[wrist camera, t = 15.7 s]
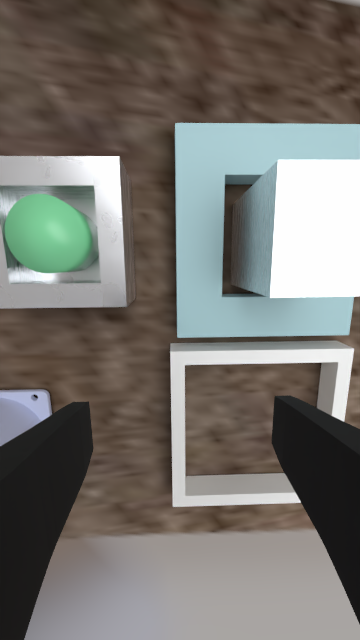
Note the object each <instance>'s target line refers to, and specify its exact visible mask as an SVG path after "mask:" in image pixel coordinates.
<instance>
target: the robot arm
mask: <svg viewBox="0 0 360 640" xmlns="http://www.w3.org/2000/svg"><path fill="white" fill-rule="evenodd" d="M34 395H37V396H38V398H35V397H34ZM272 445H273V447H274V450H275V452H276V455H277V457H278V460H279V462H280V465H281V467H282V469H283V471H284V473H285V475H286V476H287V478H288V480H289V482H290V484H291V485H292V487H293V489H294V491H295V493H296V494H297V496H298V498H299V500H300V501H301V503H302V505H303V507H304V509H305V510H306V512H307V514H308V516H309V517H310V519H311V521H312V523H313V525H314V526H315V528H316V530H317V532H318V534H319V536H320V537H321V539H322V541H323V543H324V545H325V547H326V549H327V552H328V554H329V556H330V558H331V560H332V562H333V565H334V567H335V569H336V571H337V574H338V576H339V578H340V580H341V582H342V585H343V587H344V589H345V591H346V594H347V596H348V598H349V601H350V603H351V605H352V607H353V610H354V612H355V615H356V616H357V619H358V621H359V624H360V429H358V428H356V427H354V426H352V425H350V424H347V423H345V422H343V421H341V420H339V419H337V418H335V417H333V416H331V415H329V414H327V413H325V412H324V411H322V410H320V409H318V408H316V407H314V406H312V405H310V404H308V403H306V402H304V401H302V400H300V399H297V398H295V397H292V396H275V400H274V415H273V430H272ZM92 452H93V440H92V430H91V419H90V408H89V402H72V403H70V404H68V405H67V406H65V407H63V408H62V409H60V410H58V411H57V412H55V413H54V414H52V410H51V401H50V394H49V392H48V391H46V390H43V389H36V390H0V640H24V638H25V635H26V632H27V629H28V625H29V622H30V619H31V616H32V612H33V609H34V607H35V603H36V600H37V597H38V594H39V591H40V588H41V585H42V582H43V579H44V576H45V573H46V570H47V568H48V564H49V562H50V559H51V556H52V554H53V551H54V549H55V546H56V543H57V541H58V539H59V536H60V534H61V532H62V529H63V527H64V525H65V523H66V520H67V518H68V516H69V513H70V511H71V509H72V506H73V504H74V502H75V499H76V497H77V495H78V492H79V490H80V488H81V485H82V483H83V481H84V478H85V476H86V473H87V469H88V466H89V463H90V459H91V455H92Z"/></svg>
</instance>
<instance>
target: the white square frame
mask: <svg viewBox="0 0 360 640" xmlns="http://www.w3.org/2000/svg"><path fill="white" fill-rule="evenodd" d="M353 353H354V348H352V347H350V346H347V345H345V344H343V343H341V342H339V341H277V342H214V343H170V364H171V426H172V487H173V507H185V506H215V505H246V504H277V503H301V501H300V500H299V498H298V496H297V494H296V493H295V491H294V489H293V487H292V485H291V484H290V482H289V480H288V478H287V476H286V475H285V473H269V474H235V475H201V476H185V365H211V364H266V363H321V362H322V364H321V373H320V382H319V391H318V400H317V408H318V409H320V410H322V411H324V412H325V413H327V414H329V415H331V416H333V417H335V418H337V419H339V420H341V421H343V422H344V418H345V411H346V404H347V396H348V389H349V382H350V374H351V367H352V360H353Z"/></svg>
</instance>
